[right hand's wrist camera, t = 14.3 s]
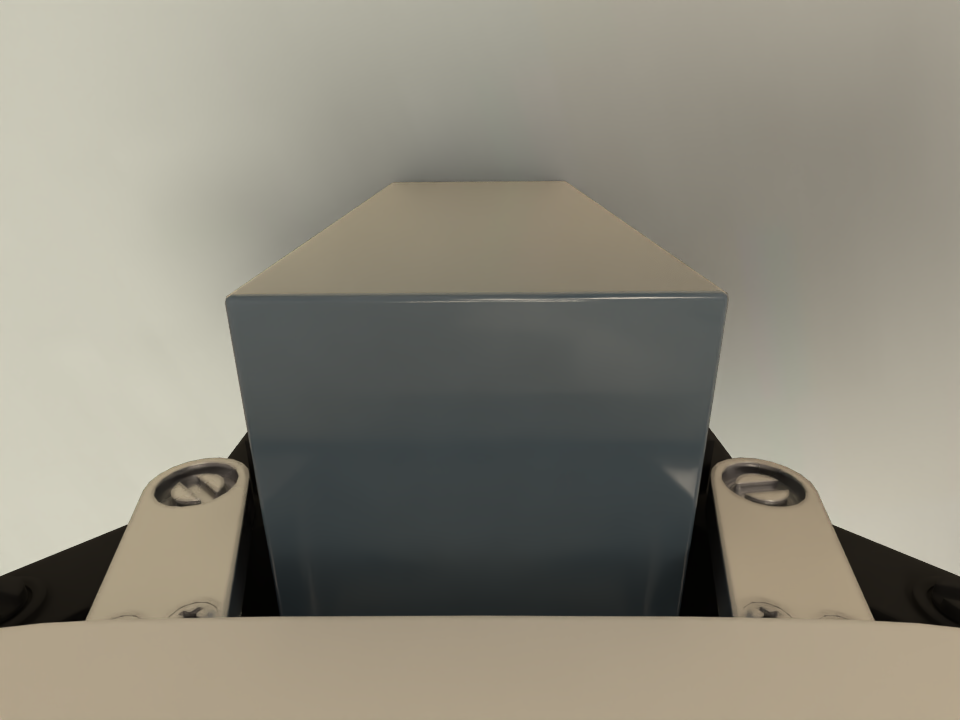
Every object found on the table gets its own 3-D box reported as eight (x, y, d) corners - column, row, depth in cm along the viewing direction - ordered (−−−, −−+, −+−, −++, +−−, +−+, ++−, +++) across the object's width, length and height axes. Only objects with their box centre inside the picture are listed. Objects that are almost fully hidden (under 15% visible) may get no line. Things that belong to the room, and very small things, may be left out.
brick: (406, 431, 19) (313, 820, 8) (391, 181, 16) (219, 296, 6) (555, 430, 19) (650, 819, 8) (566, 180, 16) (733, 292, 6)
